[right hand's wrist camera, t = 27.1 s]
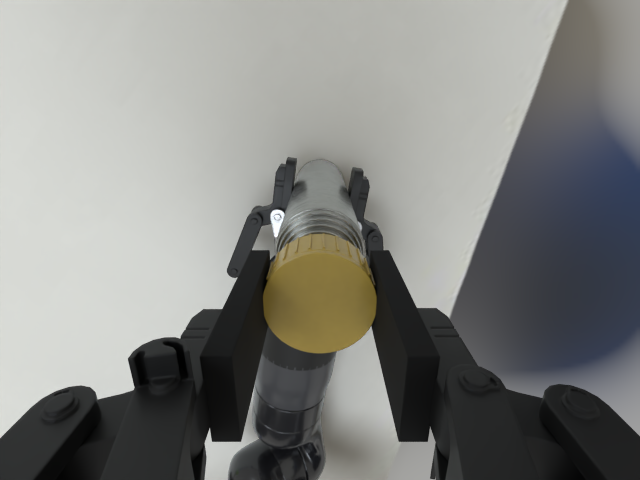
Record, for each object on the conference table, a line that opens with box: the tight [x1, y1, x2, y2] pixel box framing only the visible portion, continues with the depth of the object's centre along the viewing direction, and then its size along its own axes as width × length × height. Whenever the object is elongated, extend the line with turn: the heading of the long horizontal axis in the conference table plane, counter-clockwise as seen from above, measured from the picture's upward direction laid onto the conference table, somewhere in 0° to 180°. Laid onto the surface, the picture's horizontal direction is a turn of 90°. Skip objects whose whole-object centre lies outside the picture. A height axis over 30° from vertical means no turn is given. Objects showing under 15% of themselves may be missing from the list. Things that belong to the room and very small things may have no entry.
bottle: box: [275, 159, 365, 257], centre depth 24 cm, size 4×5×22 cm
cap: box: [263, 233, 377, 353], centre depth 14 cm, size 4×4×2 cm
